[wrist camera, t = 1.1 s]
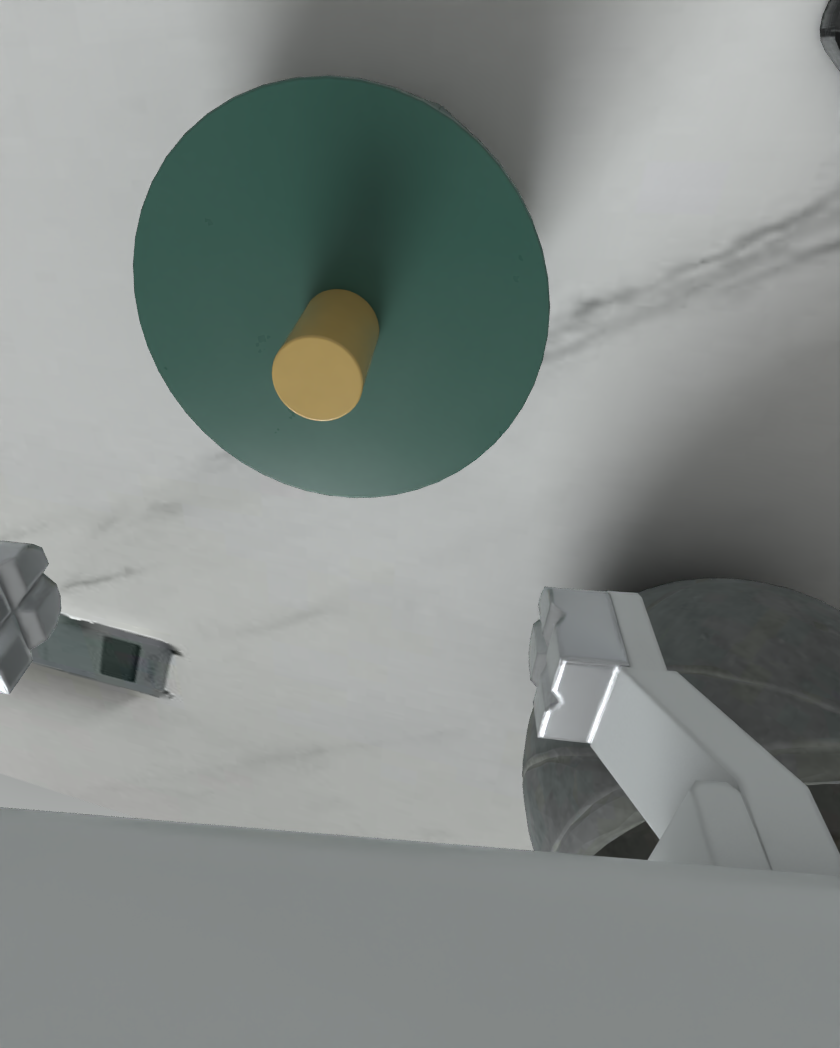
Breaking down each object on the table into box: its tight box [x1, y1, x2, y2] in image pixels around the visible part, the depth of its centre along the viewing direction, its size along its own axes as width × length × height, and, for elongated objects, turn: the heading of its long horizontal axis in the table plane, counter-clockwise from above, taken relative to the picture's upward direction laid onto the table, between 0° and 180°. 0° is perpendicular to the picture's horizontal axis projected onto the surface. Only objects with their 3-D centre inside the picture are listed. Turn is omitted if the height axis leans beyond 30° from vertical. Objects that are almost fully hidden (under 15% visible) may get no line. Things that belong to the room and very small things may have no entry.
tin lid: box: [133, 75, 550, 498], centre depth 19 cm, size 13×13×5 cm
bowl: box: [522, 578, 840, 860], centre depth 34 cm, size 21×21×15 cm
